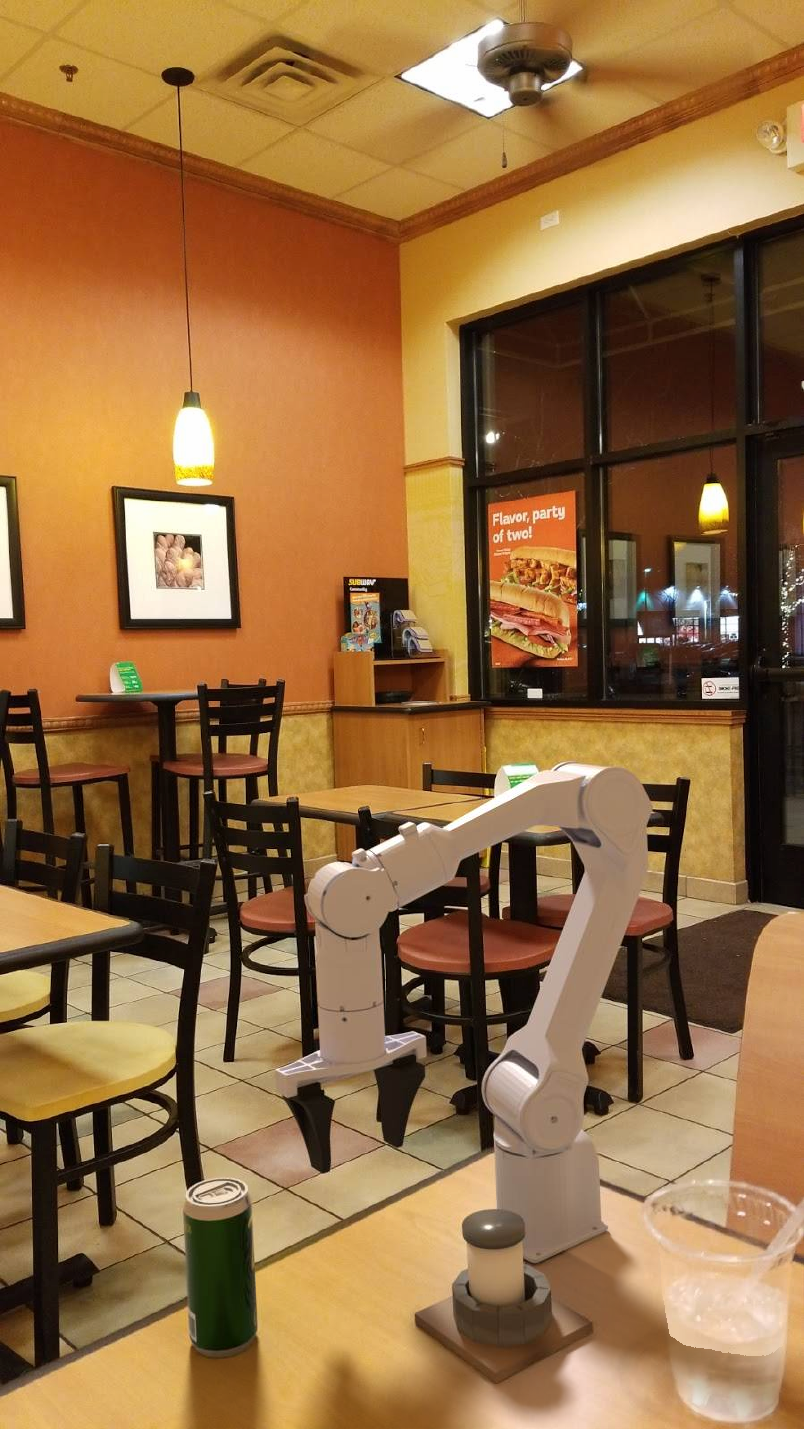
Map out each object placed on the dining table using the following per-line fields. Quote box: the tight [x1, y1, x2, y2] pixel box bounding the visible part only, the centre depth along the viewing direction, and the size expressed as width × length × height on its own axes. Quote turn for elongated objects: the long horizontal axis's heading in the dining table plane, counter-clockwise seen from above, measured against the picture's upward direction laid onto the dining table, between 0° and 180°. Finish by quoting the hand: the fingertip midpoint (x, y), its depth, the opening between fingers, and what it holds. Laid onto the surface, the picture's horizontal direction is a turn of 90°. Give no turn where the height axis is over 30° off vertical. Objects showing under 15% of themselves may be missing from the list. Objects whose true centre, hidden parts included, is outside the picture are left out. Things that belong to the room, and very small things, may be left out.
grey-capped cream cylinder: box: [461, 1208, 525, 1307], centre depth 88 cm, size 5×5×8 cm
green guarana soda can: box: [182, 1177, 259, 1359], centre depth 88 cm, size 5×5×12 cm
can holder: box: [414, 1263, 594, 1384], centre depth 88 cm, size 10×10×3 cm
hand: (357, 1156), depth 97 cm, fingers open, 7 cm apart
